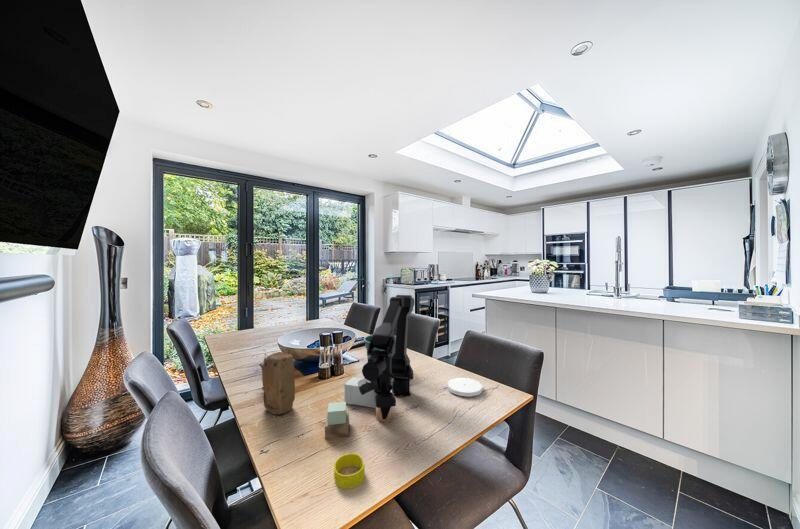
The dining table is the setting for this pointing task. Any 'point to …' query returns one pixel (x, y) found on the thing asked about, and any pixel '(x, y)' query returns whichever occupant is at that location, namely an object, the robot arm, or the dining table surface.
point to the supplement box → (358, 394)
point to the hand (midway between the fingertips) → (383, 414)
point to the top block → (336, 413)
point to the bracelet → (352, 479)
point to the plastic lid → (464, 387)
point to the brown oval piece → (379, 415)
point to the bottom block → (337, 429)
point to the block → (278, 382)
